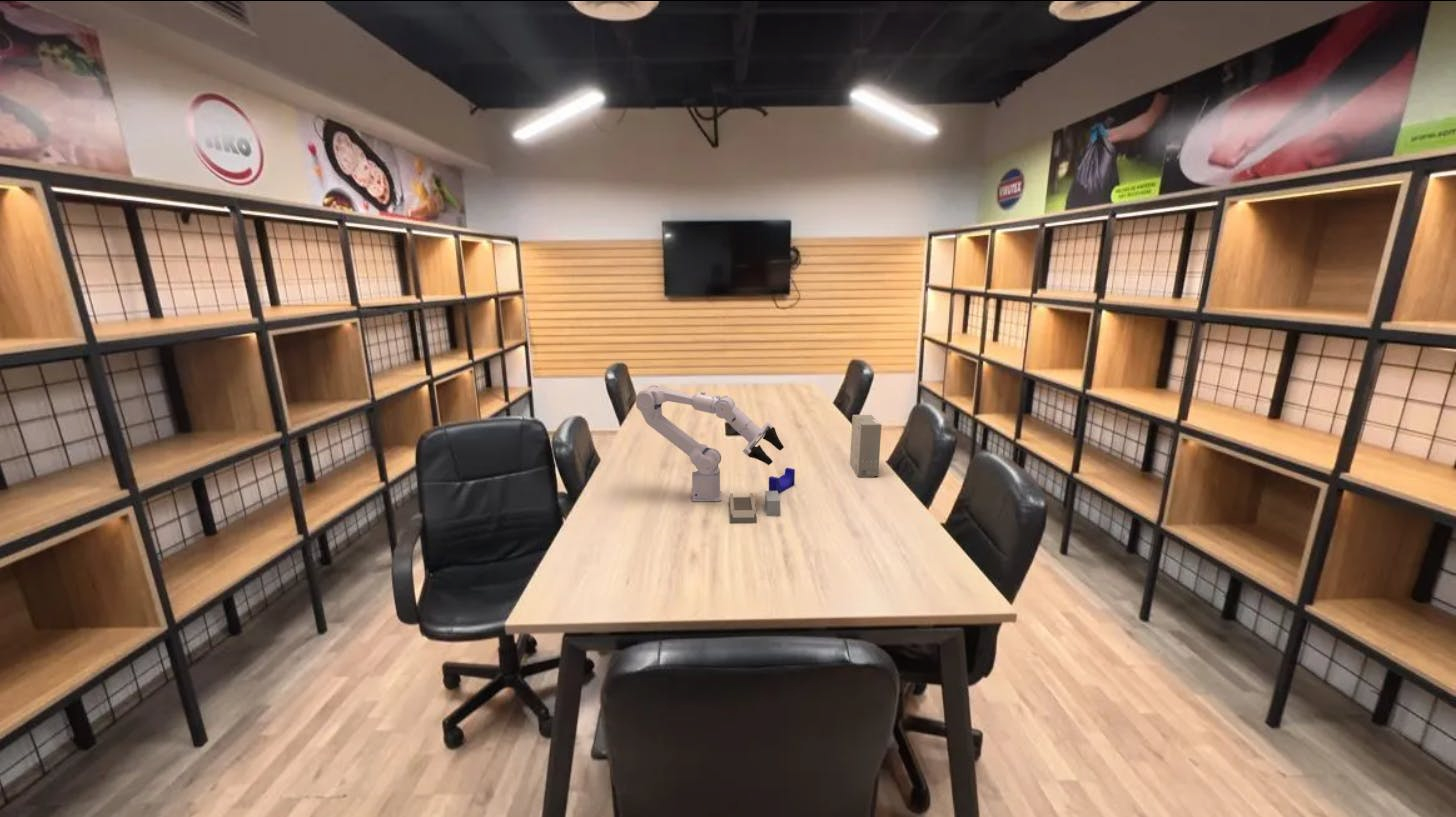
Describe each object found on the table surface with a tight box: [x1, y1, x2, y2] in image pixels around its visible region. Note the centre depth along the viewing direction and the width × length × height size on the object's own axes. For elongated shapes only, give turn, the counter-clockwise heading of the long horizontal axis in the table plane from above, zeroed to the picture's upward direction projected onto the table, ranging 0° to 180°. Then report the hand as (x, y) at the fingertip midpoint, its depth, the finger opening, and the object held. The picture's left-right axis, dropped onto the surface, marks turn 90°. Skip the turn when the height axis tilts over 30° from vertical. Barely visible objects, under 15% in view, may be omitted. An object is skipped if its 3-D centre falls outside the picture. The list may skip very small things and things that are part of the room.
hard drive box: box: [849, 414, 883, 478], centre depth 207 cm, size 16×8×20 cm, turn 179°
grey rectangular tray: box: [728, 492, 758, 524], centre depth 173 cm, size 8×16×4 cm, turn 1°
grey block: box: [764, 490, 781, 517], centre depth 174 cm, size 4×8×5 cm, turn 1°
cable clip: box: [768, 467, 796, 495], centre depth 192 cm, size 12×4×6 cm, turn 143°
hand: (776, 456), depth 177 cm, fingers open, 7 cm apart
